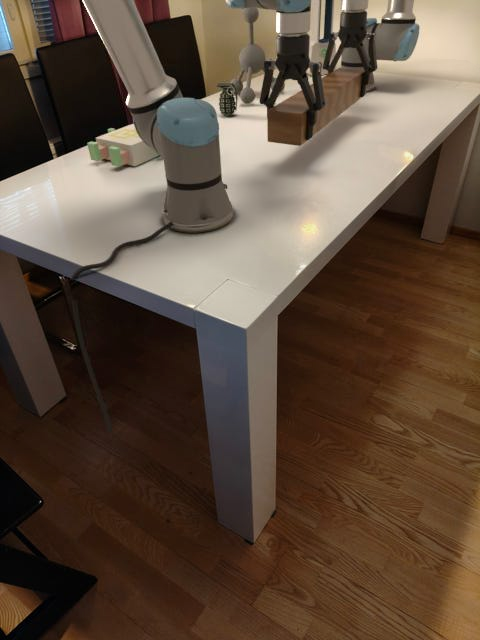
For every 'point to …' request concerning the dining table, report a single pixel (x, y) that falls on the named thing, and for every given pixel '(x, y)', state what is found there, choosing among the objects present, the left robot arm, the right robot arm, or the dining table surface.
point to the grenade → (227, 99)
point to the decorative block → (121, 147)
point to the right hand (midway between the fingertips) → (347, 94)
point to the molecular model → (250, 60)
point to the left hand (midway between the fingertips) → (291, 136)
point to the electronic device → (316, 44)
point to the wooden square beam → (339, 95)
